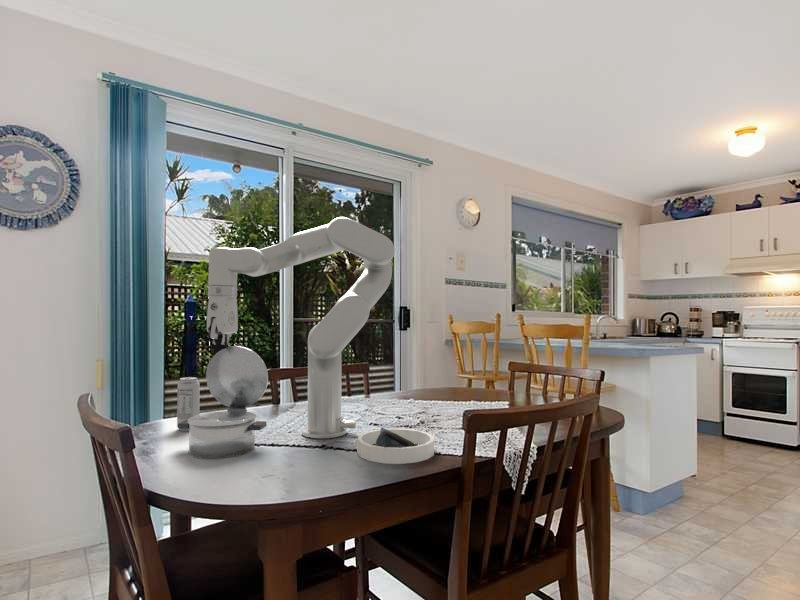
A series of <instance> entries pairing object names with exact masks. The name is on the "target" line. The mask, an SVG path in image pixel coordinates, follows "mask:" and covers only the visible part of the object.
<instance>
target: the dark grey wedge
mask: <svg viewBox="0 0 800 600" xmlns="http://www.w3.org/2000/svg"><path fill="white" fill-rule="evenodd" d="M380 429H381V431H380V435H379V436H378V438H377V440H376V445H375V446H381V447H398V448H401V447H412V446H417V445H418V444H414V443H412V442H411V441H409V440H407V439H405V438H403V437H401V436H399V435H397V434H395V433H393V432H391V431H389V430H387V429H388V428H385V427H384V428H383V427H381V428H380Z"/></svg>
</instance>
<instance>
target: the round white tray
mask: <svg viewBox="0 0 800 600" xmlns="http://www.w3.org/2000/svg"><path fill="white" fill-rule="evenodd" d="M386 429H387V430H389V431H391V432H393V433H395V434H397V435H399V436H401V437H403V438H405V439H407V440H409V441H411V442H412V443H415V444H420V445H417V446H412V447H401V448H398V447H381V446H375V445H373V444H376V440H377V438H378V436H379V435H380V431H381V428H380V429H379V428H378V429H374V430H369V431H365V432H364V433H360V434H359V435H358V437H357V439H356V442H357V443H356V453H357V455H358V456H359V457H360V458H361V459H364V460H367V461H369V462H372V463H379V464H386V465H387V464H388V465H389V464H391V465H403V464H413V463H420V462H423V461H427V460H429V459H430V458H432V457H434V456H435V436H434V435H432V434H431V433H429V432H426V431H422V430H419V429H412V428H396V427H395V428H393V427H392V428H386Z"/></svg>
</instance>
